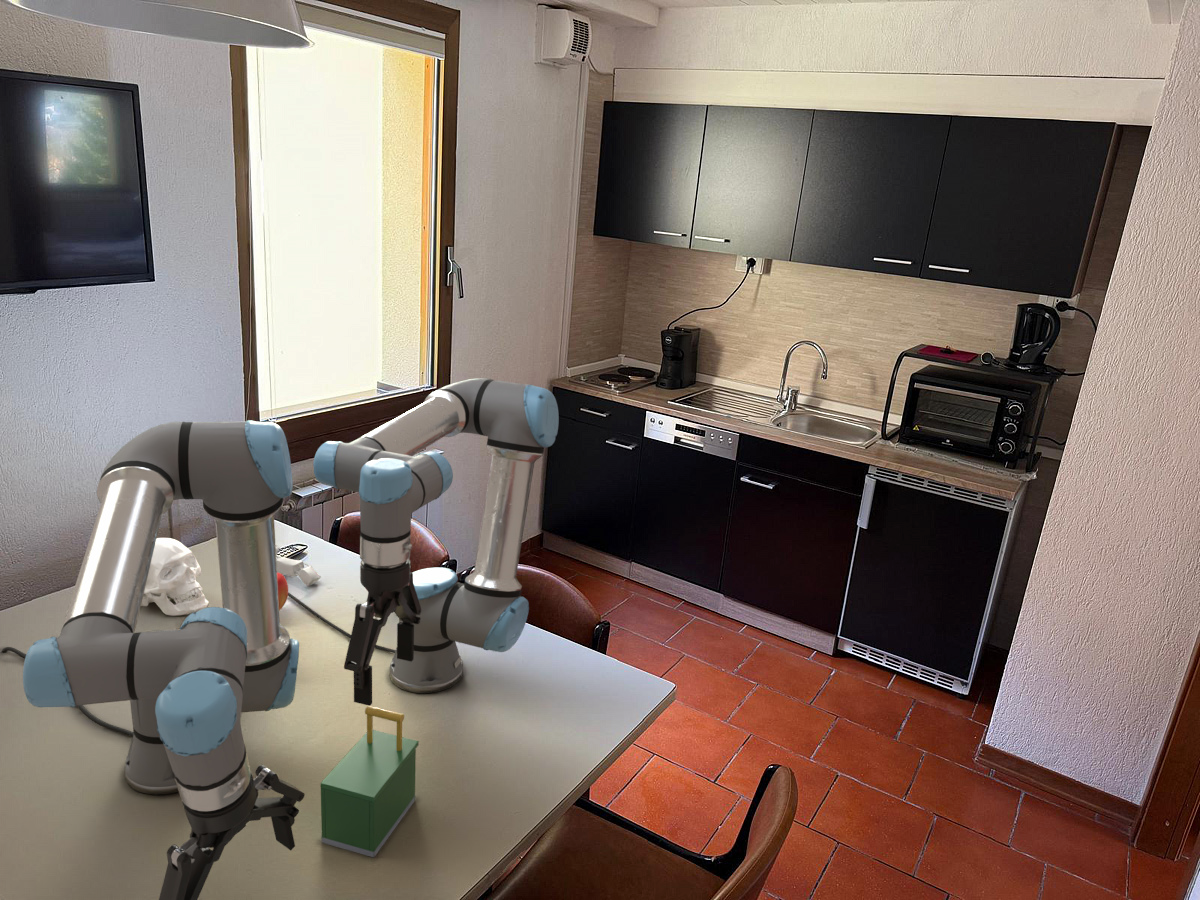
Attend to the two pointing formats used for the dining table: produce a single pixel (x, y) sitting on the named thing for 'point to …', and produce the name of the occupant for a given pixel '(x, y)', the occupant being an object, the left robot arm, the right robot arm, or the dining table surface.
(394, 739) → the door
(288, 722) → the dining table surface
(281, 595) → the apple
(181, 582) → the skull
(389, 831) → the chest
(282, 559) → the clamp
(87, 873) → the dining table surface
